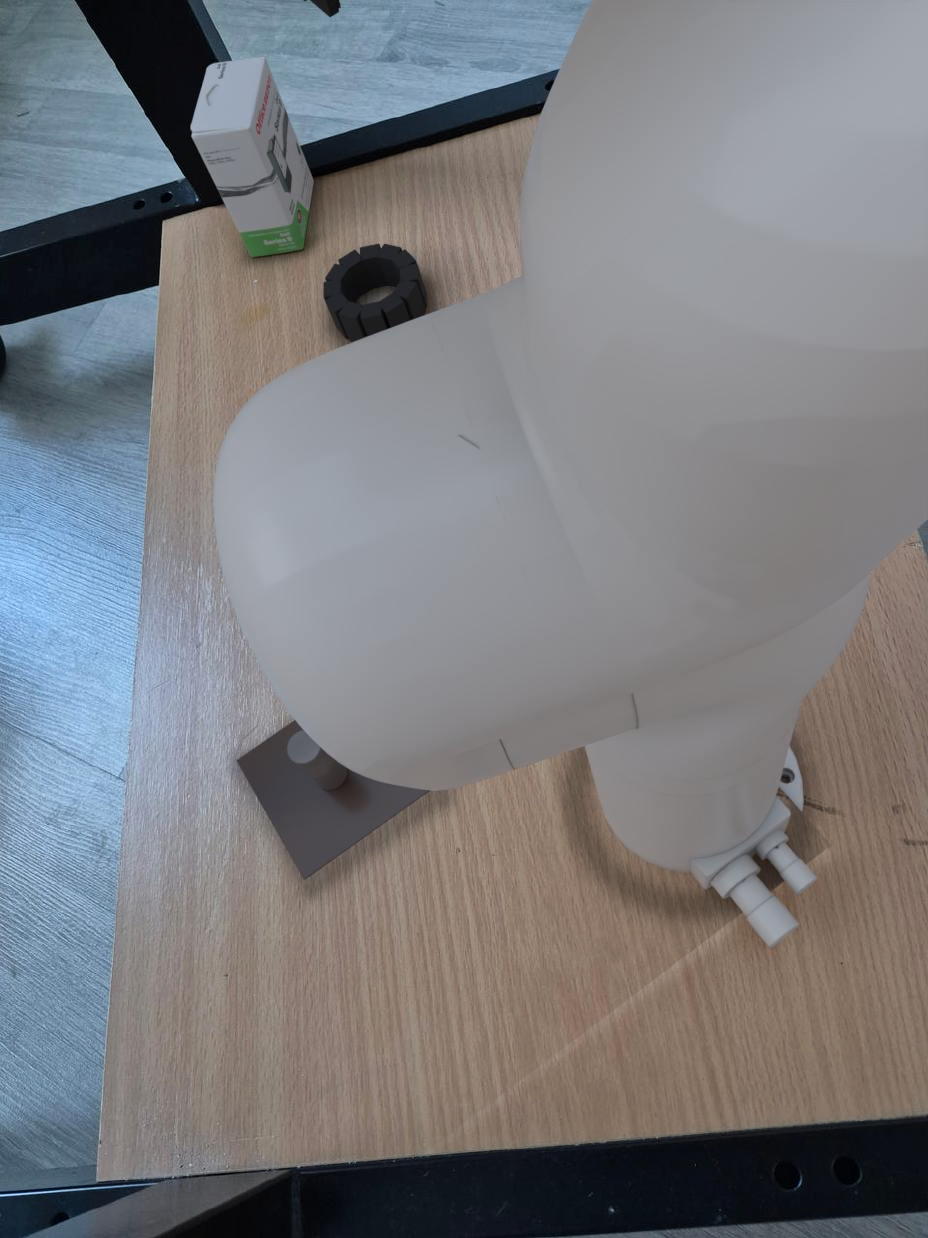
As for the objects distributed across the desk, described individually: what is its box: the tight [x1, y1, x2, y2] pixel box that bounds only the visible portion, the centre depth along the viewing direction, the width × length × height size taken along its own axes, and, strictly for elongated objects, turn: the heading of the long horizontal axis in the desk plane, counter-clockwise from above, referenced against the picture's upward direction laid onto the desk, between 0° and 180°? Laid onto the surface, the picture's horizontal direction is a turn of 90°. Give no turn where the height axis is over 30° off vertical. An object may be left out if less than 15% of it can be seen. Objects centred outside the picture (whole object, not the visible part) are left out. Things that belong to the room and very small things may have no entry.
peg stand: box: [236, 719, 431, 880], centre depth 59 cm, size 9×9×6 cm
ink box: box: [190, 56, 315, 258], centre depth 80 cm, size 9×5×12 cm, turn 178°
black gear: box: [322, 243, 428, 343], centre depth 77 cm, size 7×7×3 cm
